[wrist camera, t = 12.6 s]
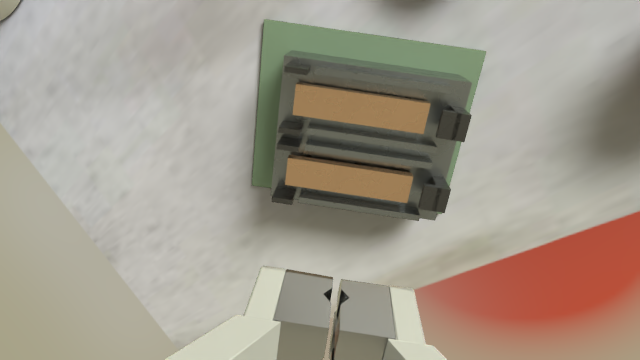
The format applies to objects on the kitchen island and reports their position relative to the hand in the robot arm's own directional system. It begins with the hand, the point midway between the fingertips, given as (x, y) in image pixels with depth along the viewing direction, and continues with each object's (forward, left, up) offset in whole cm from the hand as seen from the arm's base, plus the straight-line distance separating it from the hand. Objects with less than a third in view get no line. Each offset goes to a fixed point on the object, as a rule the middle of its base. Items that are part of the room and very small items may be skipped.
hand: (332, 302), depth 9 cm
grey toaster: (+2, -6, -37) cm, 38 cm away
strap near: (+1, -2, -31) cm, 31 cm away
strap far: (+1, -10, -31) cm, 32 cm away
